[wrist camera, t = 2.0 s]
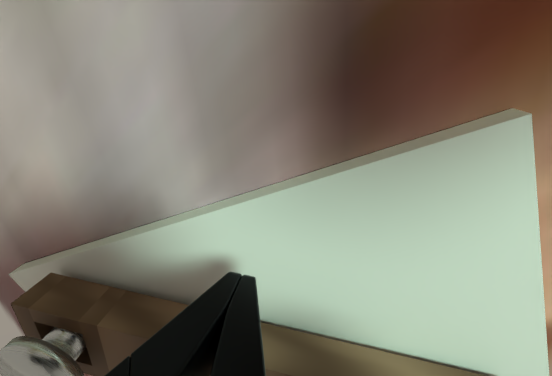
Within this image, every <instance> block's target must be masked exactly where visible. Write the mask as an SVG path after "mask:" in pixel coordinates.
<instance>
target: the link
mask: <svg viewBox="0 0 552 376" xmlns="http://www.w3.org/2000/svg"><path fill="white" fill-rule="evenodd" d="M11 306H12V308H13V310H14V312H15V314H16V316H17V318H18V321H19V323H20V325H21V327H22V329H23V331H24V333H25V336H28V337H34V338H38V339H41V340H42V339H43V338H44V337H45V336H46V335H47V334H48V333H49V332H50V331H51V330H52V329H53V328H54V327H57V328H61V329H64V330H68V331H72V332H76V333H80V334H82V335H83V338H84V341H85V344H86V348H85V350H84V351H83V352H82V353H81V354H80V356H79V357H78V358H77V359H76V360H75V361H76V362H77V364H78V365H79V366H80V368H81V369H82V371H83V373H86V374H90V375H93V376H104V375H106V374H107V373H108V372H109V371H111V370H112V369H113V368H114V367H116V366H117V365H118V364H119V363H120V362H121V361H123V360H124V359H125V358H126V357H127V356H130V357H131V353H132V352H134V351H135V350H136V349H137V348H138V347H140V346H141V345H142V344H143V343H144V342H146V341H147V340H148V339H149V338H150V337H152V336H153V335H154V334H155V333H156V332H157V331H159V330H160V329H161V328H162V327H163V326H165V325H166V324H167V323H168V322H169V321H171V320H172V319H173V318H174V317H175V316H177V315H178V314H179V313H180V312H181V311H183V310H184V309H185V308H186V307H187V306H188V305H186V304H182V303H178V302H173V301H169V300H165V299H161V298H157V297H152V296H148V295H144V294H140V293H135V292H131V291H127V290H123V289H119V288H114V287H110V286H106V285H102V284H98V283H93V282H89V281H85V280H81V279H77V278H72V277H68V276H64V275H60V274H55V273H49V274H48V275H47V276H46V277H44V278H43V279H42V280H41V281H39V282H38V283H37V284H35V285H34V286H33V287H32V288H30V289H29V290H28V291H27V292H25V293H24V294H23V295H21V296H20V297H19V298H18V299H16V300H15V301H14V302H12V303H11ZM260 323H261V332H262V342H263V351H264V361H265V370H266V376H485V375H481V374H477V373H472V372H468V371H464V370H460V369H455V368H451V367H447V366H443V365H439V364H434V363H430V362H426V361H422V360H418V359H413V358H409V357H405V356H401V355H397V354H392V353H388V352H384V351H380V350H375V349H371V348H367V347H363V346H359V345H354V344H350V343H346V342H342V341H338V340H333V339H329V338H325V337H321V336H317V335H312V334H308V333H304V332H300V331H295V330H291V329H287V328H283V327H279V326H274V325H270V324H266V323H262V322H260Z"/></svg>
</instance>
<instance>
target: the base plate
mask: <svg viewBox="0 0 552 376" xmlns="http://www.w3.org/2000/svg"><path fill="white" fill-rule="evenodd" d="M228 272H236V273H240V274H242V276H243V275H249V276H254V277H255V278H256V284H257V294H258V303H259V313H260V322H262V323H266V324H270V325H274V326H279V327H283V328H287V329H291V330H295V331H300V332H304V333H308V334H312V335H317V336H321V337H325V338H329V339H333V340H338V341H342V342H346V343H350V344H354V345H359V346H363V347H367V348H371V349H375V350H380V351H384V352H388V353H392V354H397V355H401V356H405V357H409V358H413V359H418V360H422V361H426V362H430V363H434V364H439V365H443V366H447V367H451V368H455V369H460V370H464V371H468V372H472V373H477V374H481V375H485V376H549V366H548V351H547V336H546V321H545V306H544V291H543V276H542V261H541V246H540V232H539V217H538V202H537V187H536V172H535V157H534V142H533V127H532V114H531V113H528V112H524V111H521V110H517V109H514V108H511V109H508V110H505V111H502V112H499V113H496V114H493V115H489V116H486V117H483V118H480V119H477V120H474V121H471V122H467V123H464V124H461V125H458V126H455V127H452V128H449V129H445V130H442V131H439V132H436V133H433V134H430V135H427V136H423V137H420V138H417V139H414V140H411V141H408V142H405V143H401V144H398V145H395V146H392V147H389V148H386V149H383V150H379V151H376V152H373V153H370V154H367V155H364V156H361V157H358V158H354V159H351V160H348V161H345V162H342V163H339V164H336V165H332V166H329V167H326V168H323V169H320V170H317V171H314V172H310V173H307V174H304V175H301V176H298V177H295V178H292V179H288V180H285V181H282V182H279V183H276V184H273V185H270V186H266V187H263V188H260V189H257V190H254V191H251V192H248V193H244V194H241V195H238V196H235V197H232V198H229V199H226V200H222V201H219V202H216V203H213V204H210V205H207V206H204V207H200V208H197V209H194V210H191V211H188V212H185V213H182V214H178V215H175V216H172V217H169V218H166V219H163V220H160V221H156V222H153V223H150V224H147V225H144V226H141V227H138V228H134V229H131V230H128V231H125V232H122V233H119V234H116V235H112V236H109V237H106V238H103V239H100V240H97V241H94V242H90V243H87V244H84V245H81V246H78V247H75V248H72V249H68V250H65V251H62V252H59V253H56V254H53V255H50V256H46V257H43V258H40V259H37V260H34V261H31V262H28V263H24V264H23V265H21V266H20V267H18V268H17V269H15V270H14V271H13V272H11V273H10V274H8V275H9V276H10V277H11V278H12V279H13V280H14V281H15V282H16V283H17V284H18V285H19V286H20V287H21V288H22V289H23V290H24V291H25V292H27V291H28V290H29V289H30V288H32V287H33V286H34V285H35V284H37V283H38V282H39V281H41V280H42V279H43V278H44V277H46V276H47V275H48V274H49V273H55V274H60V275H64V276H68V277H72V278H77V279H81V280H85V281H89V282H93V283H98V284H102V285H106V286H110V287H114V288H119V289H123V290H127V291H131V292H135V293H140V294H144V295H148V296H152V297H157V298H161V299H165V300H169V301H173V302H178V303H182V304H186V305H190V304H191V303H192V302H193V301H194V300H196V299H197V298H198V297H199V296H200V295H202V294H203V293H204V292H205V291H206V290H208V289H209V288H210V287H211V286H212V285H214V284H215V283H216V282H217V281H218V280H220V279H221V278H222V277H223V276H224V275H225V274H227V273H228ZM85 348H86V344H85V341H84V338H83V335H82V334H80V333H76V332H72V331H68V330H64V329H61V328H57V327H54V328H53V329H52V330H51V331H50V332H49V333H48V334H47V335H46V336H45V337H44V338H43V339H42V340H41V339H38V338H34V337H28V336H20V337H16V338H14V339H12V340H11V341H10V342H9V343H8V344H7V345H6V346H5V347H4V348H3V349H1V350H0V374H1V375H2V376H84V374H83V371H82V369H81V368H80V366H79V365H78V364H77V362H76V361H75V360H76V359H77V358H78V357H79V356H80V354H81V353H82V352H83V351H84V350H85Z"/></svg>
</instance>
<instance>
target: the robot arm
mask: <svg viewBox="0 0 552 376" xmlns="http://www.w3.org/2000/svg"><path fill="white" fill-rule="evenodd" d="M104 376H266V370H265V361H264V351H263V342H262V332H261V323H260V313H259V303H258V294H257V284H256V278H255V277H254V276H249V275H243V276H242V274H240V273H236V272H228V273H227V274H225V275H224V276H223V277H222V278H221V279H220V280H218V281H217V282H216V283H215V284H214V285H212V286H211V287H210V288H209V289H208V290H206V291H205V292H204V293H203V294H202V295H200V296H199V297H198V298H197V299H196V300H194V301H193V302H192V303H191V304H190V305H188V306H187V307H186V308H185V309H184V310H183V311H181V312H180V313H179V314H178V315H177V316H175V317H174V318H173V319H172V320H171V321H169V322H168V323H167V324H166V325H165V326H163V327H162V328H161V329H160V330H159V331H157V332H156V333H155V334H154V335H153V336H152V337H150V338H149V339H148V340H147V341H146V342H144V343H143V344H142V345H141V346H140V347H138V348H137V349H136V350H135V351H134V352H132V353H131V357H130V356H127V357H126V358H125V359H124V360H123V361H121V362H120V363H119V364H118V365H117V366H116V367H114V368H113V369H112V370H111V371H109V372H108V373H107V374H106V375H104Z"/></svg>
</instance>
